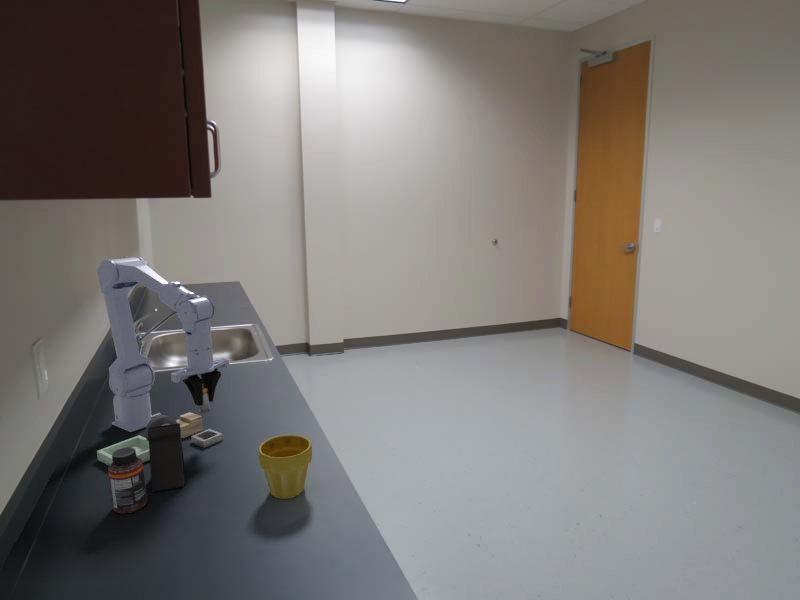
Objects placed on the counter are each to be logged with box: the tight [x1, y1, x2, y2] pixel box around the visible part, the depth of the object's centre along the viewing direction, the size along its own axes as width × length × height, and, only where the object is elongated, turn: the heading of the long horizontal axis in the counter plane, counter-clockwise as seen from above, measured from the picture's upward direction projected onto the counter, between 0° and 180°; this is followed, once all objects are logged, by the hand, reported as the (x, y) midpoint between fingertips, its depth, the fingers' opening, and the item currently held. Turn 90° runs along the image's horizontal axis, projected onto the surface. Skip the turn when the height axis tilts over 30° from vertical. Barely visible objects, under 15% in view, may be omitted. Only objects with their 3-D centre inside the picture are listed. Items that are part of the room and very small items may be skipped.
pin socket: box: [190, 428, 224, 448], centre depth 131 cm, size 5×5×2 cm
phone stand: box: [148, 423, 186, 494], centre depth 112 cm, size 9×6×12 cm, turn 19°
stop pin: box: [198, 385, 211, 414], centre depth 130 cm, size 2×2×6 cm
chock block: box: [175, 411, 204, 440], centre depth 136 cm, size 5×7×4 cm
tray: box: [96, 434, 150, 467], centre depth 124 cm, size 10×10×2 cm
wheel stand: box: [144, 412, 177, 440], centre depth 130 cm, size 5×7×7 cm
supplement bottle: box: [107, 448, 148, 514], centre depth 103 cm, size 6×6×11 cm
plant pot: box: [258, 434, 313, 500], centre depth 108 cm, size 10×10×10 cm
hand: (203, 402), depth 130 cm, fingers closed on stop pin, 2 cm apart
